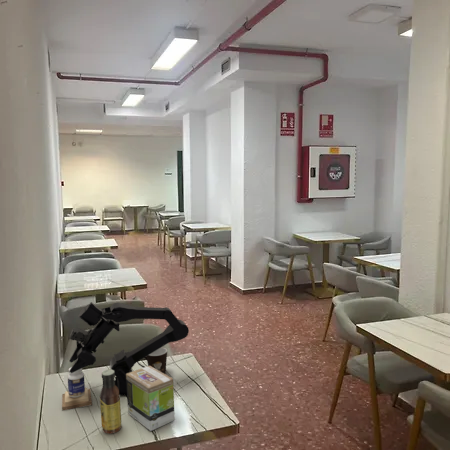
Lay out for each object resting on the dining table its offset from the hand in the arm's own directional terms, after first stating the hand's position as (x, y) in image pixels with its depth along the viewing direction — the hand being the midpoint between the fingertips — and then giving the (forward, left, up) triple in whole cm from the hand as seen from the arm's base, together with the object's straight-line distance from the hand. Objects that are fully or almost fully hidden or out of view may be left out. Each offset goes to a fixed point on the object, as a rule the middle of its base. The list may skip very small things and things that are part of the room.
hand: (70, 366), depth 158 cm
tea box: (-32, +5, -14) cm, 35 cm away
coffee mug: (-22, -25, -14) cm, 36 cm away
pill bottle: (-1, -1, -11) cm, 11 cm away
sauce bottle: (-22, +14, -14) cm, 30 cm away
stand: (-1, -1, -13) cm, 13 cm away
